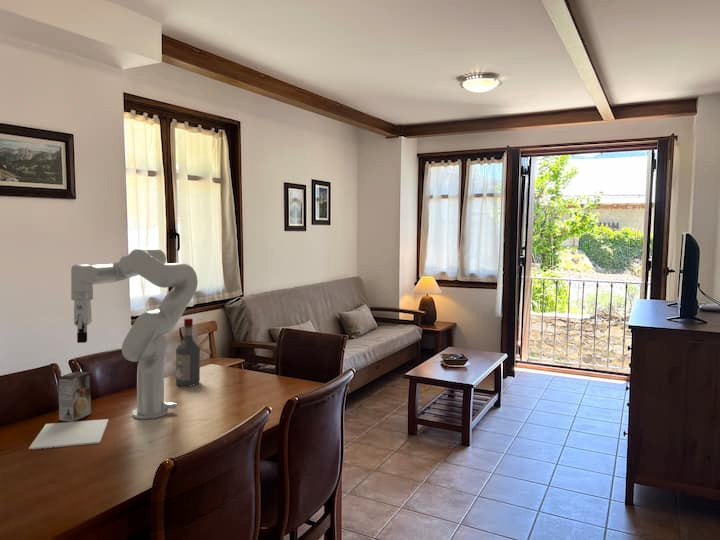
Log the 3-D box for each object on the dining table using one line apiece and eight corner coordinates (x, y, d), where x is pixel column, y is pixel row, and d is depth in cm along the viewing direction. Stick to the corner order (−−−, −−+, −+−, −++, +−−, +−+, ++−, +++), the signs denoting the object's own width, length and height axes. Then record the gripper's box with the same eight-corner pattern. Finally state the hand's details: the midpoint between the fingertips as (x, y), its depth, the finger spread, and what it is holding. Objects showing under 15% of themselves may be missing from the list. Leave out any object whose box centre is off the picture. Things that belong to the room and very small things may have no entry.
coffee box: (76, 412, 199) (76, 370, 198) (91, 414, 197) (91, 372, 196) (58, 420, 190) (58, 376, 189) (73, 422, 188) (73, 378, 187)
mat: (108, 420, 191) (108, 419, 191) (99, 443, 170) (99, 441, 170) (45, 425, 184) (45, 423, 184) (28, 449, 163) (28, 447, 163)
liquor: (186, 387, 235) (186, 321, 233) (173, 384, 240) (173, 319, 238) (202, 383, 243) (203, 319, 241) (189, 379, 248) (190, 317, 246)
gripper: (89, 297, 199) (89, 345, 200) (95, 293, 213) (95, 338, 215) (67, 298, 197) (67, 346, 198) (75, 293, 211) (75, 339, 212)
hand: (82, 342), depth 206 cm, fingers closed
